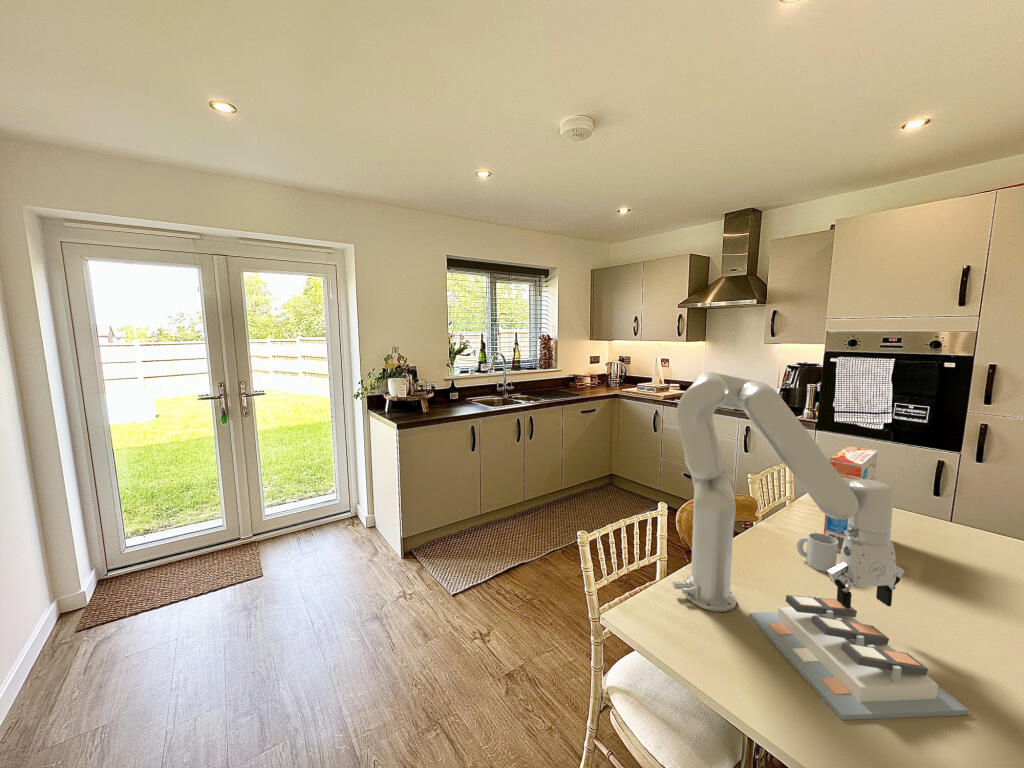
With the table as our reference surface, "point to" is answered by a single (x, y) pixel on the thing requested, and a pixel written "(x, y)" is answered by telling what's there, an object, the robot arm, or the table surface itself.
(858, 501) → the robot arm
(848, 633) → the rocker
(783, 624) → the switch unit
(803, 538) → the cup
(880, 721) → the table surface
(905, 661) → the rocker
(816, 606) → the rocker
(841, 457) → the orange cereal box
